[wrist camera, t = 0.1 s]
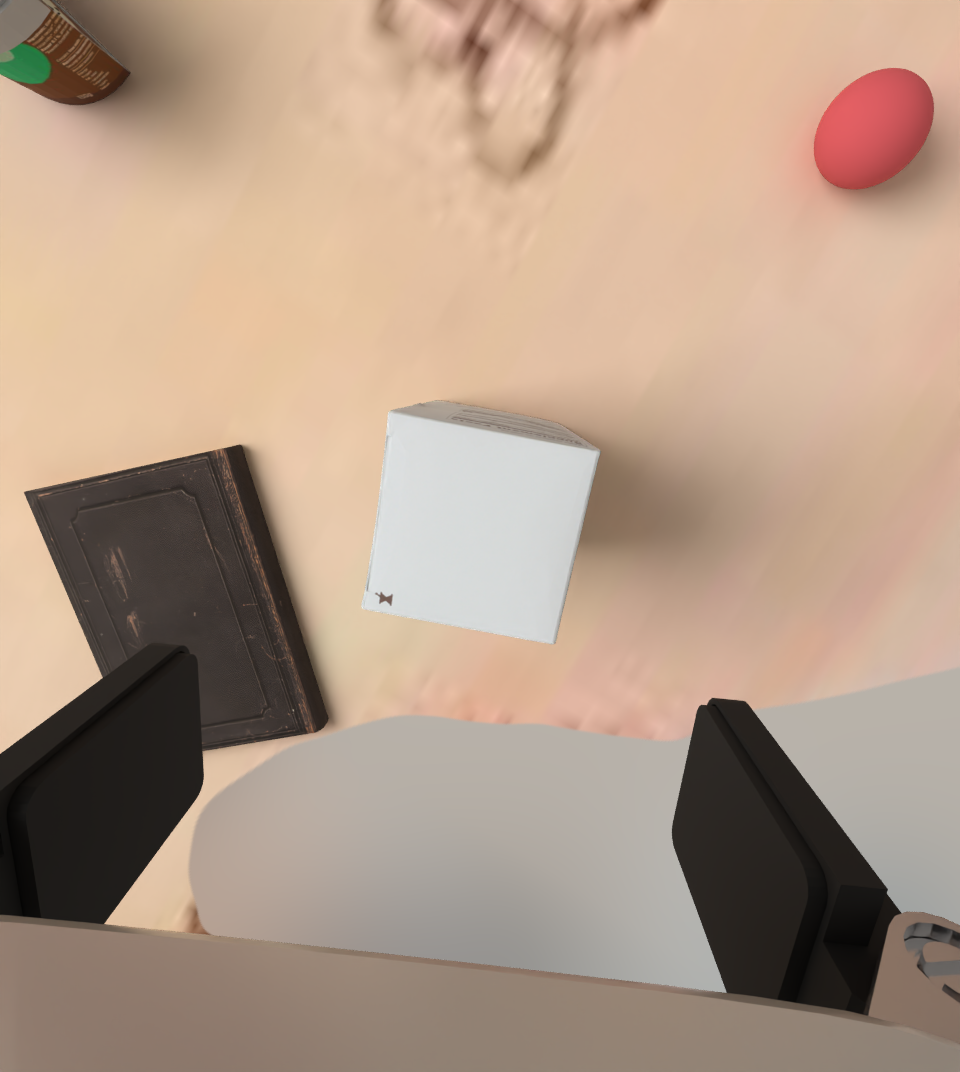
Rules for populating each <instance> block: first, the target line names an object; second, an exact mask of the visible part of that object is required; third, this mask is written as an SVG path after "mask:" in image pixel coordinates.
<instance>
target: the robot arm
mask: <svg viewBox="0 0 960 1072" xmlns="http://www.w3.org/2000/svg"><path fill="white" fill-rule="evenodd" d="M203 779H204V772H203V752H202V733H201V714H200V695H199V676H198V661H197V658H196V656H195V655H194V654H190V652H189V650H188V648H187V647H186V646H185V645H175V644H165V643H151V644H149V645H147V646H146V647H144V648H143V649H142V650H140V651H139V652H138V653H136V654H135V655H134V656H132V657H131V658H130V659H128V660H127V661H125V662H124V663H123V664H121V665H120V666H119V667H117V668H116V669H115V670H113V671H112V672H111V673H109V674H108V675H107V676H105V677H104V678H102V679H101V680H100V681H98V682H97V683H96V684H94V685H93V686H92V687H90V688H89V689H88V690H86V691H85V692H83V693H82V694H81V695H79V696H78V697H77V698H75V699H74V700H73V701H71V702H70V703H69V704H67V705H66V706H65V707H63V708H62V709H60V710H59V711H58V712H56V713H55V714H54V715H52V716H51V717H50V718H48V719H47V720H46V721H44V722H43V723H42V724H40V725H39V726H37V727H36V728H35V729H33V730H32V731H31V732H29V733H28V734H27V735H25V736H24V737H23V738H21V739H20V740H19V741H17V742H16V743H14V744H13V745H12V746H10V747H9V748H8V749H6V750H5V751H4V752H2V753H1V754H0V1072H960V925H958V924H955V923H954V922H951V921H949V920H947V919H945V918H942V917H939V916H935V915H931V914H928V913H924V912H904V913H901V912H900V911H899V909H898V908H897V907H896V905H895V904H894V903H893V901H892V900H891V899H890V897H889V896H888V895H887V890H888V889H887V888H886V886H885V885H884V884H883V882H882V881H881V880H880V879H879V877H878V876H877V875H876V873H875V872H874V870H872V868H871V867H870V865H869V864H868V862H867V861H866V860H865V859H864V857H863V856H862V855H861V854H860V852H859V851H858V849H857V848H856V847H855V845H854V844H853V843H852V841H851V840H850V839H849V837H848V836H847V835H846V833H845V832H844V831H843V829H842V828H841V827H840V825H839V824H838V823H837V821H836V820H835V819H834V817H833V816H832V815H831V813H830V812H829V811H828V810H827V808H826V807H825V805H824V804H823V803H822V802H821V800H820V799H819V798H818V796H817V795H816V794H815V792H814V791H813V790H812V788H811V787H810V786H809V784H808V783H807V782H806V781H805V779H804V778H803V776H802V775H801V774H800V772H799V771H798V770H797V768H796V767H795V766H794V765H793V763H792V762H791V760H790V759H789V758H788V757H787V755H786V754H785V753H784V751H783V750H782V749H781V747H780V746H779V745H778V743H777V742H776V741H775V739H774V738H773V737H772V735H771V734H770V733H769V731H768V730H767V729H766V727H765V726H764V725H763V723H762V722H761V721H760V719H759V718H758V717H757V715H756V714H755V713H754V712H753V710H752V709H751V707H750V706H749V705H748V704H747V703H746V702H745V701H738V700H728V699H718V698H712V699H710V700H709V702H708V704H707V705H701V706H699V708H698V710H697V714H696V718H695V723H694V727H693V732H692V737H691V741H690V746H689V751H688V755H687V760H686V764H685V769H684V774H683V778H682V783H681V788H680V793H679V797H678V801H677V806H676V811H675V815H674V820H673V826H672V839H673V845H674V849H675V851H676V854H677V857H678V860H679V862H680V865H681V868H682V871H683V873H684V876H685V879H686V882H687V884H688V887H689V890H690V893H691V895H692V898H693V901H694V904H695V906H696V909H697V912H698V915H699V917H700V920H701V923H702V926H703V928H704V931H705V934H706V937H707V939H708V942H709V945H710V948H711V950H712V953H713V955H714V959H715V961H716V964H717V967H718V969H719V972H720V974H721V978H722V981H723V983H724V986H725V989H726V992H727V993H722V992H714V991H705V990H698V989H690V988H683V987H675V986H668V985H659V984H650V983H642V982H633V981H624V980H615V979H606V978H598V977H589V976H580V975H571V974H563V973H554V972H545V971H537V970H529V969H520V968H510V967H501V966H493V965H484V964H475V963H467V962H458V961H447V960H439V959H430V958H421V957H411V956H403V955H394V954H384V953H375V952H366V951H357V950H347V949H337V948H329V947H319V946H310V945H301V944H291V943H282V942H272V941H263V940H252V939H243V938H233V937H224V936H214V935H204V934H194V933H185V932H175V931H165V930H155V929H145V928H135V927H126V926H116V925H106V924H104V923H105V922H106V920H107V919H108V918H109V916H110V915H111V914H112V912H113V911H114V910H115V908H116V907H117V906H118V904H119V903H120V901H121V900H122V899H123V897H124V896H125V895H126V893H127V892H128V891H129V889H130V888H131V887H132V885H133V884H134V882H135V881H136V880H137V878H138V877H139V876H140V874H141V873H142V872H143V870H144V869H145V868H146V866H147V865H148V864H149V862H150V861H151V859H152V858H153V857H154V855H155V854H156V853H157V851H158V850H159V849H160V847H161V846H162V845H163V843H164V842H165V841H166V839H167V838H168V836H169V835H170V834H171V832H172V831H173V830H174V828H175V827H176V826H177V824H178V823H179V822H180V820H181V819H182V818H183V816H184V815H185V813H186V812H187V811H188V809H189V808H190V807H191V805H192V804H193V803H194V801H195V800H196V798H197V797H198V795H199V793H200V791H201V788H202V785H203Z"/></svg>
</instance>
